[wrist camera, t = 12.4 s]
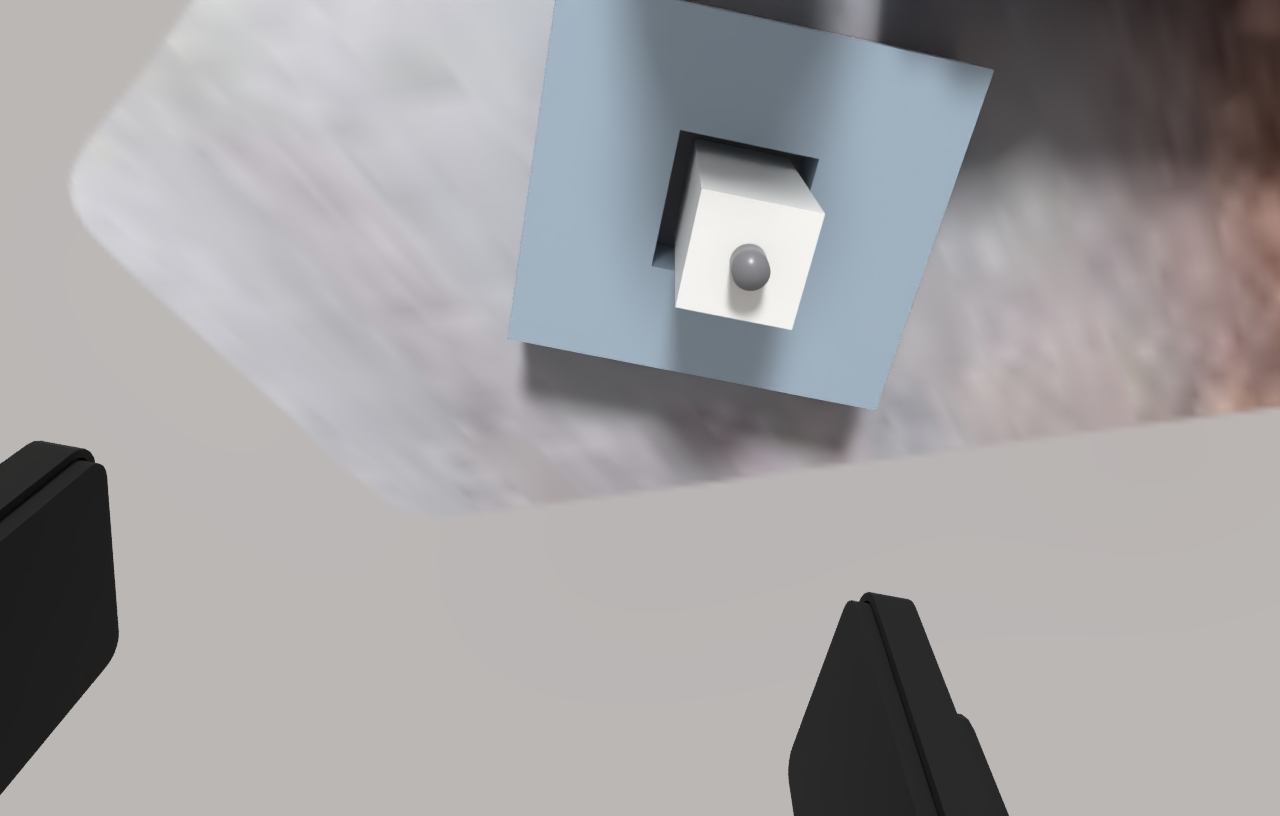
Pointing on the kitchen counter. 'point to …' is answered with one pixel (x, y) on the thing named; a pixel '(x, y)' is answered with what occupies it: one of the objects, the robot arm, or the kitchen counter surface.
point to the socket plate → (751, 119)
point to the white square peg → (744, 235)
